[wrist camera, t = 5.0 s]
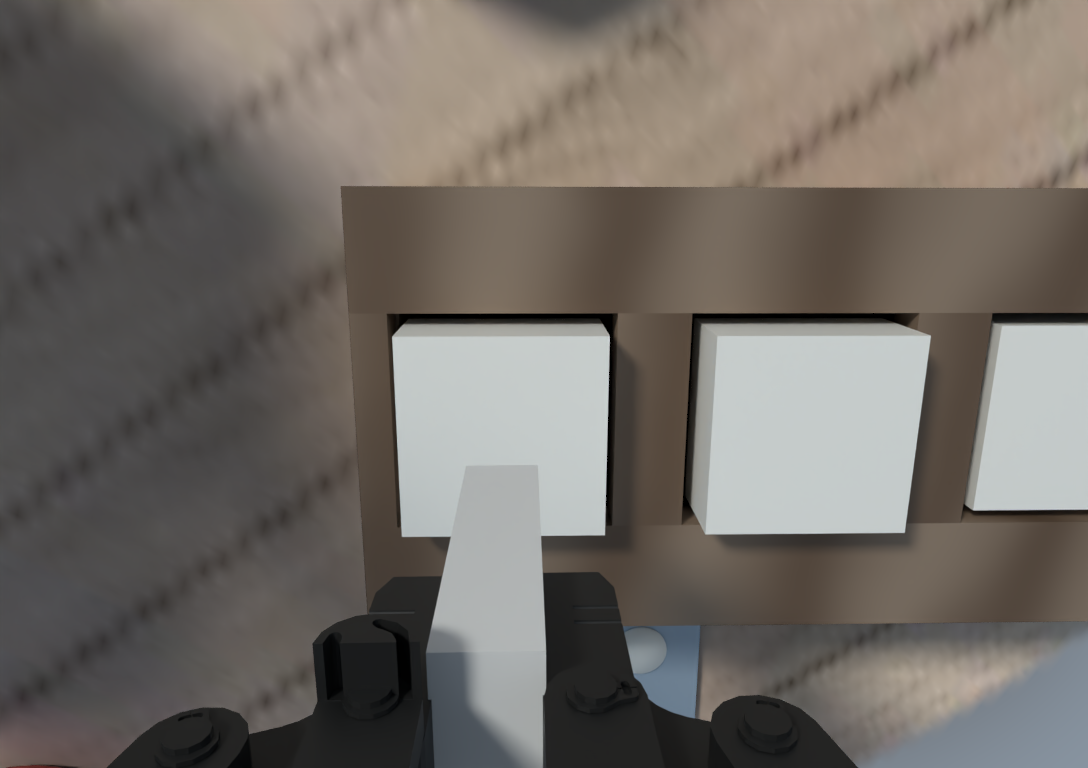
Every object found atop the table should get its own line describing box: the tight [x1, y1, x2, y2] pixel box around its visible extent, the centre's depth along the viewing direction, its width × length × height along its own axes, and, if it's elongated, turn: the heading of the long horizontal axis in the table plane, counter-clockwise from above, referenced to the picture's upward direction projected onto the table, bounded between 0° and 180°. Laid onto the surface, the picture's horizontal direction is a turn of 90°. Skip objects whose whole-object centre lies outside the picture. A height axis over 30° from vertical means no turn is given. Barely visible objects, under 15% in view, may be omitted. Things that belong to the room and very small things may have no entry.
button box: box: [341, 186, 1088, 626], centre depth 26 cm, size 27×14×6 cm, turn 90°
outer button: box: [963, 313, 1088, 510], centre depth 25 cm, size 6×6×3 cm
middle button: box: [685, 318, 931, 534], centre depth 23 cm, size 6×6×3 cm
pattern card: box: [623, 625, 700, 718], centre depth 32 cm, size 12×7×1 cm, turn 90°
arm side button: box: [392, 318, 610, 537], centre depth 23 cm, size 6×6×3 cm
